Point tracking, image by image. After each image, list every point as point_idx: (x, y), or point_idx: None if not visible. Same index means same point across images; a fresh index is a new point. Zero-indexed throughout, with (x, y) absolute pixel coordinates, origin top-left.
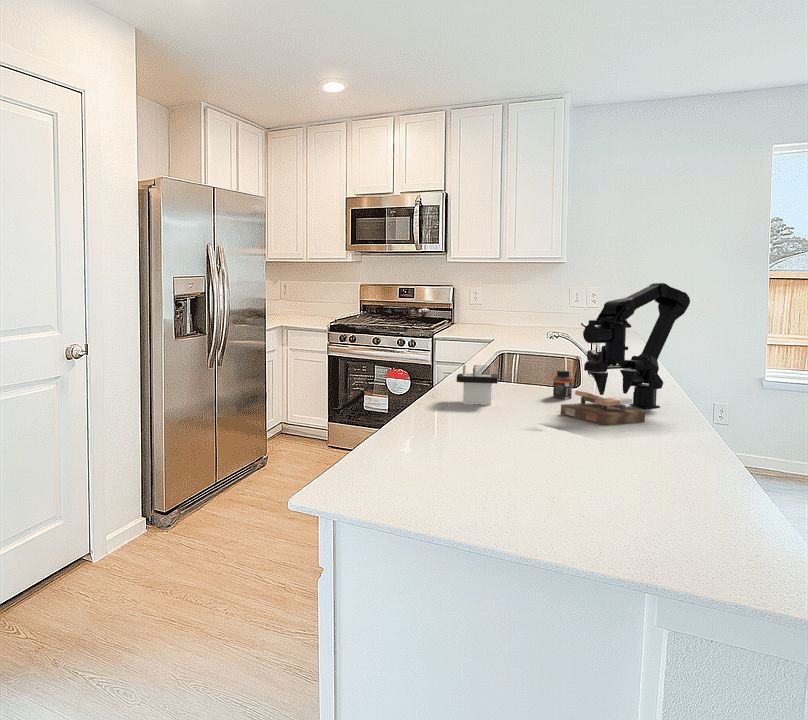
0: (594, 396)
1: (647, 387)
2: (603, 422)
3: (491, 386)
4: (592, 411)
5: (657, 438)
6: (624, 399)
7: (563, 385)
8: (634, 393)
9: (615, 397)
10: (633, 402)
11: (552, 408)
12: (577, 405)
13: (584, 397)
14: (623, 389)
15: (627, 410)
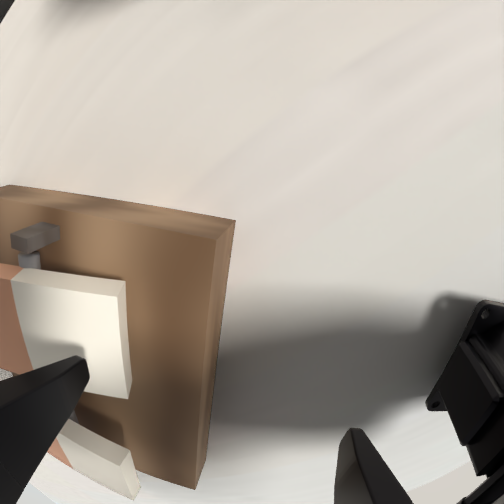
0: (15, 366)
1: (474, 494)
2: None
3: None
4: (13, 374)
5: (91, 480)
6: (101, 481)
7: None
8: (484, 403)
9: (92, 454)
10: (462, 355)
11: (85, 14)
12: (6, 259)
13: (13, 268)
14: (351, 456)
15: (136, 455)
